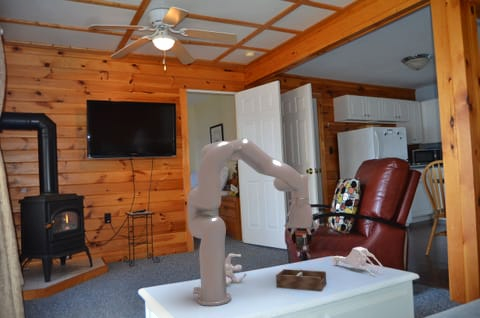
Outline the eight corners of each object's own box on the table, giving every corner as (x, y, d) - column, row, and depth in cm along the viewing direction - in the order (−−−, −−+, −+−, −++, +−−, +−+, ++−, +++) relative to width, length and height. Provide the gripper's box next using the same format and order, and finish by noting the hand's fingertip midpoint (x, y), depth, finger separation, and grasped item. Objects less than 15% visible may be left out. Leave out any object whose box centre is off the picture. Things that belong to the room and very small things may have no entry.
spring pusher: (295, 284, 147) (294, 276, 147) (300, 279, 154) (300, 272, 154) (297, 285, 146) (297, 276, 147) (302, 280, 153) (302, 272, 153)
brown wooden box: (276, 287, 149) (275, 275, 149) (284, 281, 158) (283, 269, 158) (321, 291, 141) (320, 277, 141) (326, 283, 150) (325, 271, 150)
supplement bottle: (309, 252, 159) (308, 226, 160) (295, 252, 160) (294, 226, 161) (309, 250, 165) (308, 224, 165) (295, 250, 166) (295, 224, 167)
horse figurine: (375, 293, 162) (335, 262, 183) (384, 260, 158) (343, 233, 178) (367, 295, 160) (328, 264, 180) (376, 262, 155) (335, 234, 176)
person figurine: (212, 265, 147) (239, 249, 161) (192, 268, 156) (220, 253, 169) (222, 296, 147) (249, 278, 160) (202, 298, 155) (229, 280, 169)
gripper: (279, 202, 164) (280, 243, 163) (317, 202, 157) (319, 245, 155) (284, 202, 171) (286, 241, 170) (321, 201, 164) (323, 242, 162)
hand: (302, 242), depth 163 cm, fingers closed on supplement bottle, 6 cm apart
